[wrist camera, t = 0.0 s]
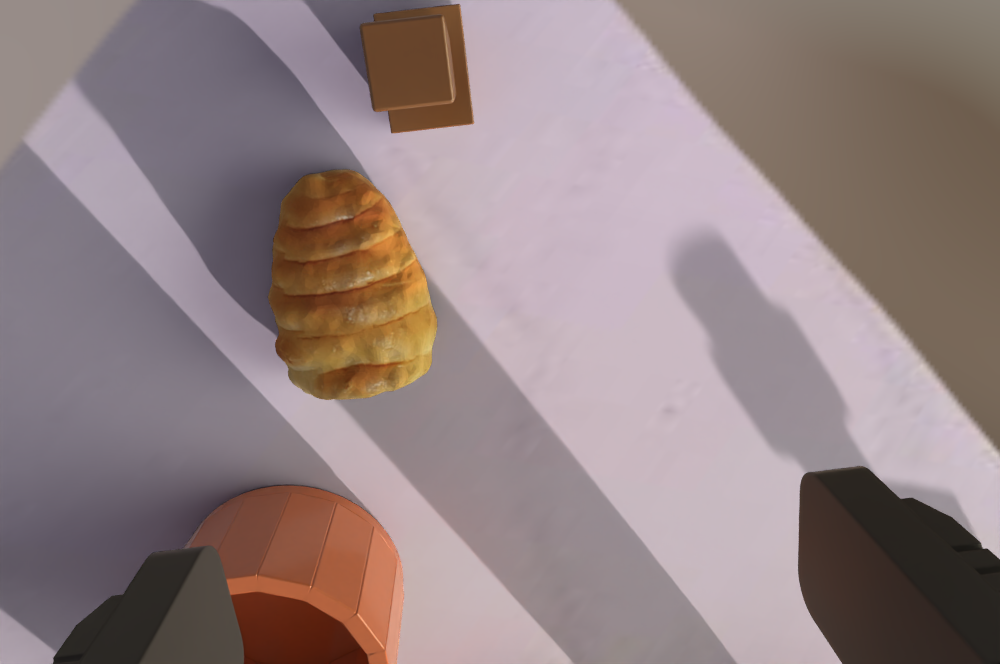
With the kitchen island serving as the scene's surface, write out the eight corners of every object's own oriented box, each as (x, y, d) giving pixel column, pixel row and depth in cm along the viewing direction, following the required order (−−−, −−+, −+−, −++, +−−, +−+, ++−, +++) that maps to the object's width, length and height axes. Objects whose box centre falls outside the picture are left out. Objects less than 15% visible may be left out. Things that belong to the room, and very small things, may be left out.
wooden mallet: (384, 22, 29) (328, -22, 17) (459, 13, 29) (460, -37, 17) (399, 127, 30) (358, 157, 18) (472, 119, 31) (480, 143, 18)
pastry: (250, 178, 31) (223, 191, 27) (412, 156, 31) (406, 166, 27) (298, 386, 34) (280, 421, 30) (445, 365, 34) (444, 398, 30)
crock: (159, 499, 35) (89, 595, 29) (385, 471, 35) (367, 560, 29) (212, 679, 39) (161, 802, 32) (418, 653, 39) (409, 770, 32)
